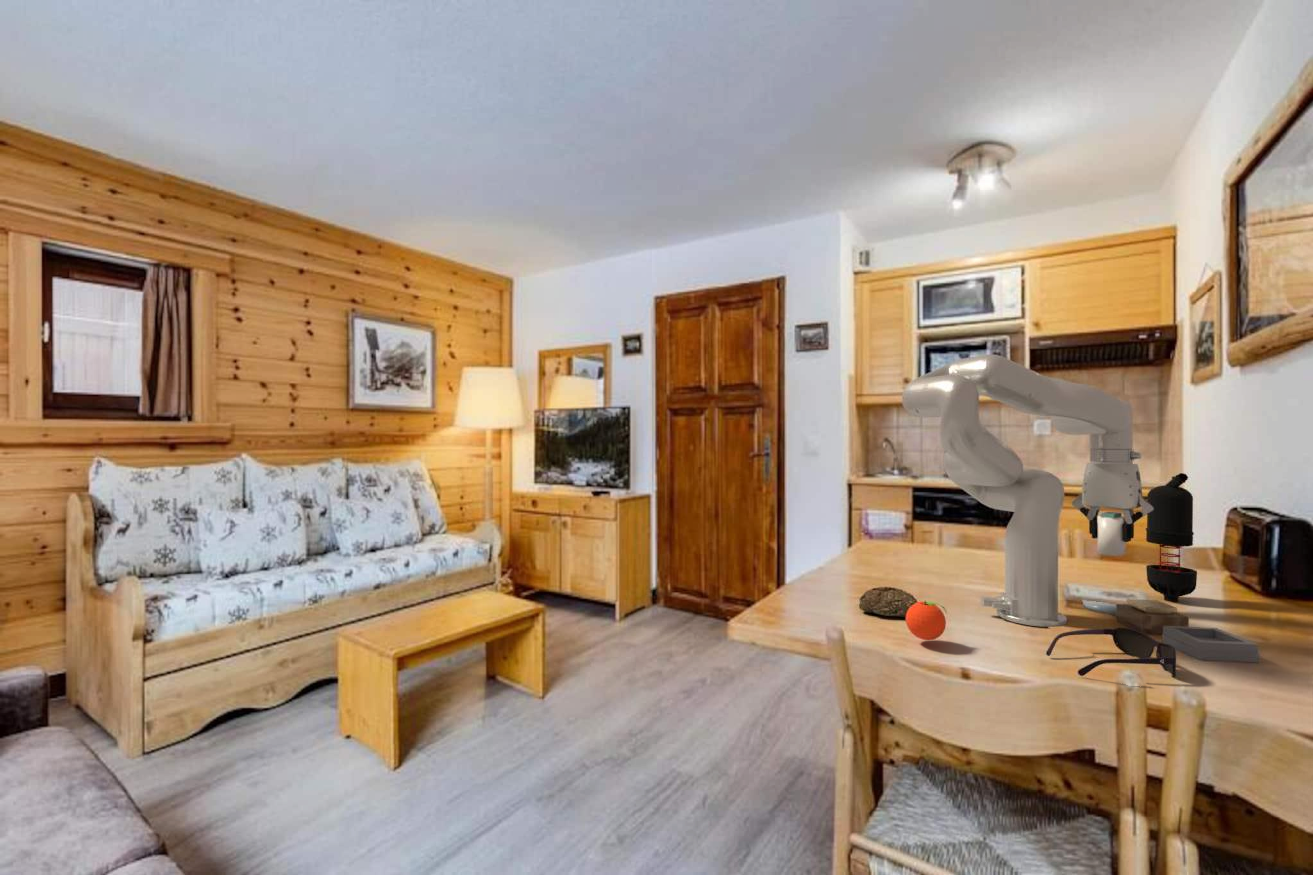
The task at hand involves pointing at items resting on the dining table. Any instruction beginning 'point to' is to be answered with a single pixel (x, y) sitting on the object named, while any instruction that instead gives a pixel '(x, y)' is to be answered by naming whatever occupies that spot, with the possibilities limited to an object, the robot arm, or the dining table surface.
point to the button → (1151, 606)
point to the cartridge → (1110, 534)
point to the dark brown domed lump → (887, 601)
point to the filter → (1171, 537)
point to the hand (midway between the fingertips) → (1111, 538)
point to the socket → (1210, 644)
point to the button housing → (1148, 619)
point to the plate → (1100, 607)
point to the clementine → (925, 620)
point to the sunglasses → (1129, 648)
